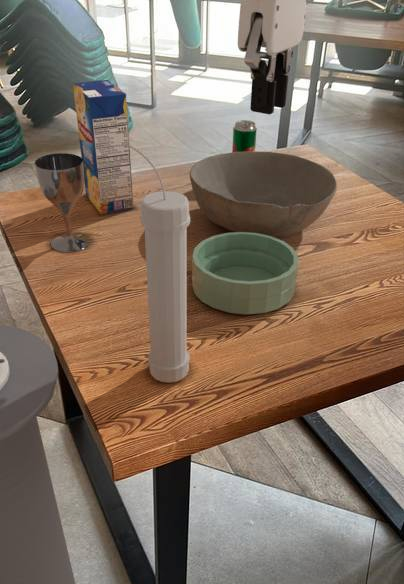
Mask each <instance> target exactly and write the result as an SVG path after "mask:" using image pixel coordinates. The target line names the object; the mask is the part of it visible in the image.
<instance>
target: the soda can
mask: <svg viewBox="0 0 404 584" xmlns="http://www.w3.org/2000/svg"><path fill="white" fill-rule="evenodd" d="M232 129H233V130H232V145H231V146H232V147H231V149H232V151H231V153H232V152H247V151H256V143H257V132H258V131H257V127H256V122H254V121H252V120H245V119H244V120H243V119H242V120H241V119H240V120H238V121H235V123H234V126H233V128H232Z"/></svg>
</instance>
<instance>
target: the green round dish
mask: <svg viewBox="0 0 404 584" xmlns="http://www.w3.org/2000/svg"><path fill="white" fill-rule="evenodd" d="M192 251H193V252H192V254H191V287H192V290H193V292H194V293H193V294H194V295H195V296H196V297H197V298H198V299H199V300H200V301H201V302H202V303H204V304H206V305H207V306H209V307H211V308H213V309H215V310H218V311H222V312H225V313H226V312H227V313H230V314H238V315H256V314H257V315H258V314H265V313H269V312H272V311H275V310H279V309H280V308H282V307H283V306H285V305H287V304H289V302H290V301H291V300H292V298H293V297H294V295H295V291H296V284H297V277H298V271H299V255H298V253H297V252H296V250H295V249H294V248H293V247H292V246H291V245H289V244H288V243H287V242H286V241H284V240H282V239H280V238H278V237H272V236H268V235H263V234H259V233H250V232H234V231H231V232H224V233H220V234H216V235H212V236H210V237H208V238H205V239H203V240H201V241H200V242H199V243H198V244H197V245H196V246H195V247H194V248H193V250H192Z"/></svg>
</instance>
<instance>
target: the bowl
mask: <svg viewBox="0 0 404 584" xmlns="http://www.w3.org/2000/svg"><path fill="white" fill-rule="evenodd" d="M189 181H190V185H191V189H192V192H193V195H194V198H195V200H196V203H197V206H198V207H199V209H200V210H201V212H202V213H203V215H204V216H205V217H206V218H207V219H208V220H210V222H213V223H214V224H215V225H217V226H219V227H221V228H224V229H225V230H228V231H231V232H250V233H259V234H263V235H268V236H272V237H274V238H283V237H287V236H291V235H295V234H298V233H300V232H302V231H304V230H305V229H307V228H308V227H310V226H311V225H313V224H314V223H315V222H316V221H317V220H318V219H319V218H320V217H321V216H322V215H323V213H324V212H325V211H326V210H327V208H328V206H329V205H330V204H331V202H332V200H333V199H334V196H335V195H336V193H337V190H338V183H337V179H336V177H335V176H334V174H333V172H331V170H329V168H326V167H325V166H323V165H321V164H319V163H317V162H314V161H312V160H310V159H307V158H304V157H302V156H301V157H300V156H297V155H293V154H289V153H282V152H273V151H256V150H255V151H247V152H232V151H231V152H226V153H219V154H215V155H209V156H208V157H205V158H202V159H200V160H198V161H197V162H195V163H194V164H193V165H192V166H191V168H190V171H189Z"/></svg>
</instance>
